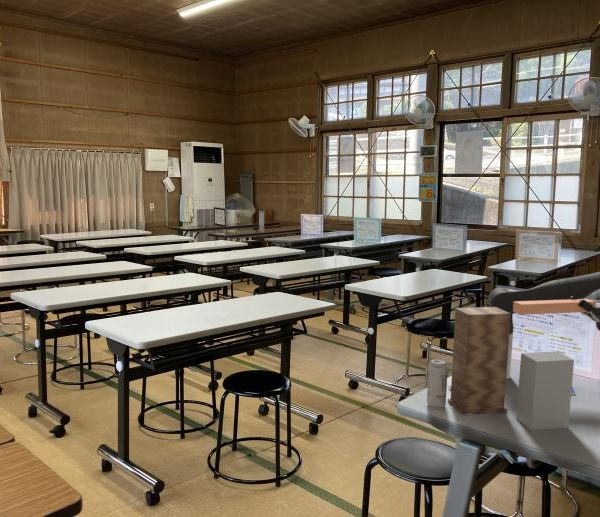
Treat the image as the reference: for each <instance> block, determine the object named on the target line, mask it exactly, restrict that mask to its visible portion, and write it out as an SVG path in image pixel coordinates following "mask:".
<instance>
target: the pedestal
mask: <svg viewBox="0 0 600 517" xmlns="http://www.w3.org/2000/svg"><path fill="white" fill-rule="evenodd" d="M510 317H511V313H508V312H506V311H504V310H502V309H499V308H497V307H487V306H481V307H455V310H454V326H453V328H454V330H453V331H454V332H453V348H452V364H451V365H452V367H451V383H450V385H451V390H450V398H447V403H448V404H449V405H450V406H453V407H454V408H453V407H452V408H453V409H454V410H455V411H456V412H458V413H459V414H460V415H461V414H462V415H461V416H468V415H467V414H473V415H486V414H488V413H489V414H501V413H502V414H504V413H503V412H505V413H507V412H508V408H507V407H505V402H506V388H507V379H506V375H507V360H508V346H509V331H510Z"/></svg>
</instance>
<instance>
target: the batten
mask: <svg viewBox="0 0 600 517" xmlns="http://www.w3.org/2000/svg"><path fill="white" fill-rule="evenodd" d="M580 300H581V299H569V300H541V301H514V303H513V312H515V313H514V314H518V315H525V316H526V315H543V314H544V315H546V314H567V313H568V314H570V313H580V312H588V311H586V310H585V309H583V308H581V307H580V306H578V304H579V302H580ZM583 300H585V301H587V302H588V303H590V304H591V305H595V306H596V305H597V301H595V300H592V299H589V298H584V299H583ZM596 307H597V306H596Z"/></svg>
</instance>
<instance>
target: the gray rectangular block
mask: <svg viewBox="0 0 600 517" xmlns="http://www.w3.org/2000/svg"><path fill="white" fill-rule="evenodd" d="M574 364H575V359H573V358H571V357H569V356H567V355H565V354H563V353H561V352H559V351H538V352H521V353H520V363H519V366H520V367H519V376H518V377H519V380H518V393H517V408H516V420H517V421H519V422H520V423H521V424H523V425H524V426H525V427H526V428H528V429H530V431H541V430H553V429H568V428H569V424H570V422H569V421H570V411H571V410H570V409H571V402H572V395H571V390H572V387H573V376H574Z"/></svg>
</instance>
